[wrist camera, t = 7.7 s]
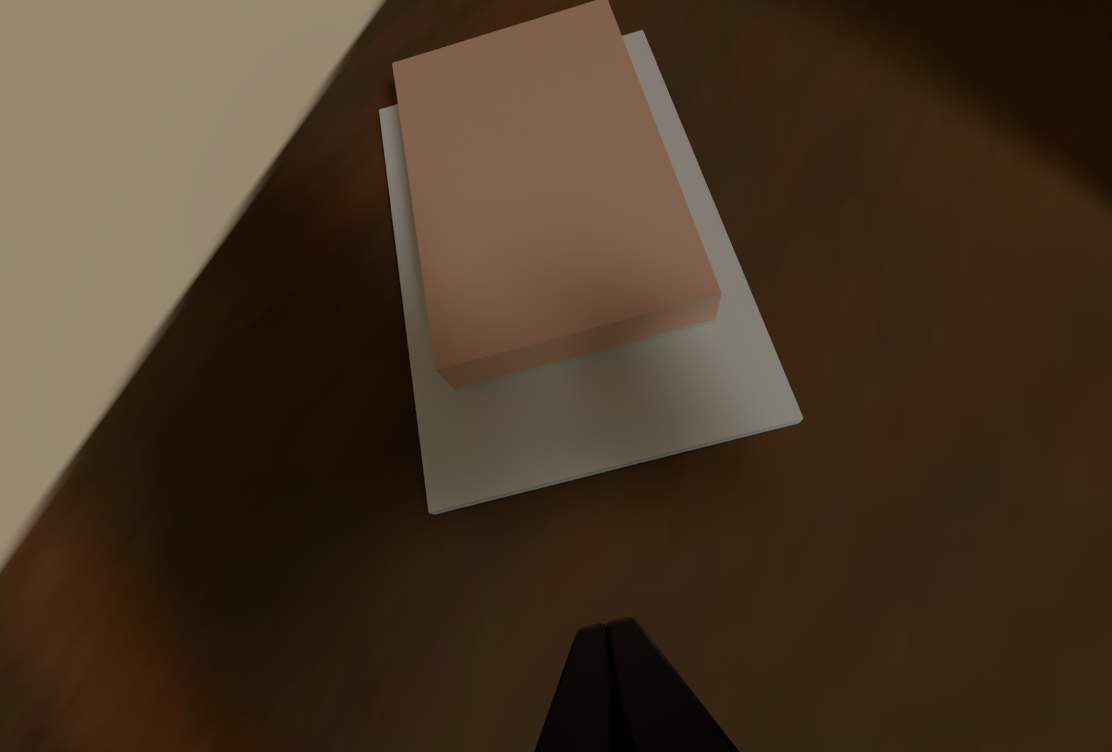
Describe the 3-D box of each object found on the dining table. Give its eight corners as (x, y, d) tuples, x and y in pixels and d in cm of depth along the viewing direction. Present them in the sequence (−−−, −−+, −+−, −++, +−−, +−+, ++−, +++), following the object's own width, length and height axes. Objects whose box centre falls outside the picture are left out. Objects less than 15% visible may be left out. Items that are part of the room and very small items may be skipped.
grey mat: (434, 514, 18) (428, 512, 18) (383, 118, 25) (379, 109, 25) (799, 423, 17) (803, 418, 17) (642, 40, 24) (642, 29, 24)
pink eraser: (435, 370, 17) (392, 63, 23) (456, 391, 19) (411, 103, 24) (722, 293, 17) (606, -3, 22) (714, 323, 18) (609, 43, 24)
